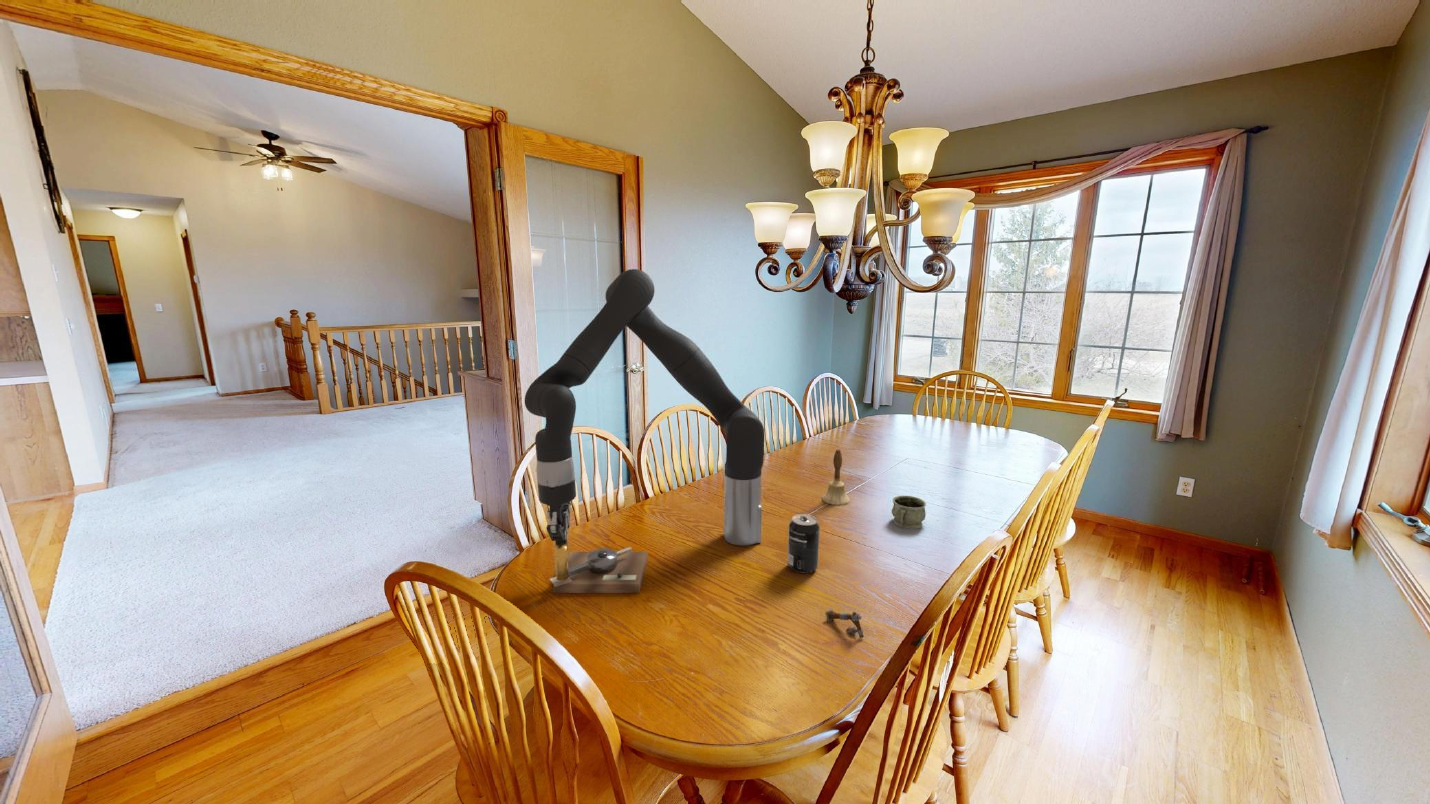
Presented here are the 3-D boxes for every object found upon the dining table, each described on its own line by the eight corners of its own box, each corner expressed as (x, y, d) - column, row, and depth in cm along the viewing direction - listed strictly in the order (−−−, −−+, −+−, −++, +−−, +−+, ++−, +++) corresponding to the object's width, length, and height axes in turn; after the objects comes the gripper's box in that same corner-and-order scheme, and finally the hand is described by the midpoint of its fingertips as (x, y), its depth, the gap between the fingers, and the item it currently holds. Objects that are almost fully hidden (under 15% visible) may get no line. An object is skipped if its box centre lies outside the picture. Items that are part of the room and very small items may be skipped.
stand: (647, 559, 123) (647, 547, 123) (638, 595, 109) (638, 582, 108) (565, 559, 123) (564, 547, 122) (545, 595, 108) (544, 582, 108)
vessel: (899, 511, 151) (901, 491, 149) (931, 519, 145) (933, 498, 144) (883, 525, 141) (885, 504, 140) (916, 535, 136) (918, 512, 135)
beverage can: (808, 558, 124) (810, 511, 121) (823, 572, 118) (825, 523, 115) (782, 563, 122) (783, 515, 119) (796, 578, 115) (798, 527, 113)
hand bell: (850, 506, 154) (853, 454, 151) (821, 504, 156) (824, 452, 152) (849, 496, 162) (852, 446, 159) (822, 493, 164) (824, 444, 160)
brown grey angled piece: (863, 640, 94) (856, 614, 94) (831, 635, 100) (824, 611, 101) (869, 636, 95) (862, 611, 95) (837, 631, 101) (831, 607, 102)
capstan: (623, 549, 123) (622, 518, 121) (638, 559, 118) (637, 527, 117) (550, 576, 111) (547, 543, 110) (563, 589, 106) (561, 554, 105)
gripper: (545, 467, 115) (551, 539, 119) (529, 490, 102) (536, 570, 106) (579, 466, 115) (584, 538, 119) (568, 489, 103) (574, 568, 106)
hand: (562, 553), depth 113 cm, fingers closed
